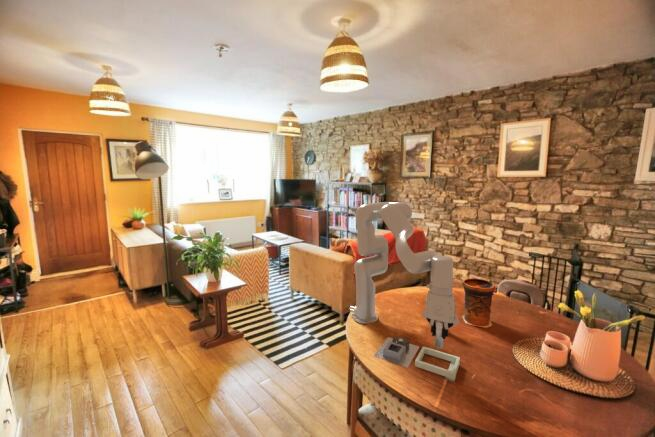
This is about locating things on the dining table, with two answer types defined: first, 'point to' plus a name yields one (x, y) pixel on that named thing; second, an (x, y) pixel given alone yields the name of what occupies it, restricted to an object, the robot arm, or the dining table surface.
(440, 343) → the pin
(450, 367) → the rectangular frame
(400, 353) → the tensioner block
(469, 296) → the vessel
